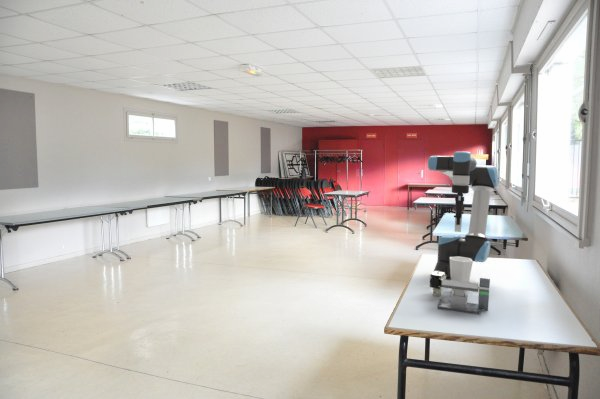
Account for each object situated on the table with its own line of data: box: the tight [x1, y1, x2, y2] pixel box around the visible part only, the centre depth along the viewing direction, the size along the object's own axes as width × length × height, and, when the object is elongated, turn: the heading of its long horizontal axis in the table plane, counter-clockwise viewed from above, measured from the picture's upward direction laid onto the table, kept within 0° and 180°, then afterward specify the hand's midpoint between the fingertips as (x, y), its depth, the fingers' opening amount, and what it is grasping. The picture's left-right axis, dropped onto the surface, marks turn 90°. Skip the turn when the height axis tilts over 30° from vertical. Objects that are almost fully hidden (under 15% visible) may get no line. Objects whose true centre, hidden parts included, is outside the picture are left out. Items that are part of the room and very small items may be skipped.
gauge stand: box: [437, 277, 491, 315], centre depth 188 cm, size 20×11×14 cm, turn 68°
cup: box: [449, 256, 474, 294], centre depth 210 cm, size 11×10×17 cm
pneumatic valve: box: [429, 271, 447, 298], centre depth 205 cm, size 6×12×12 cm, turn 148°
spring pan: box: [441, 279, 490, 296], centre depth 188 cm, size 19×9×6 cm, turn 68°
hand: (458, 229), depth 202 cm, fingers open, 13 cm apart
